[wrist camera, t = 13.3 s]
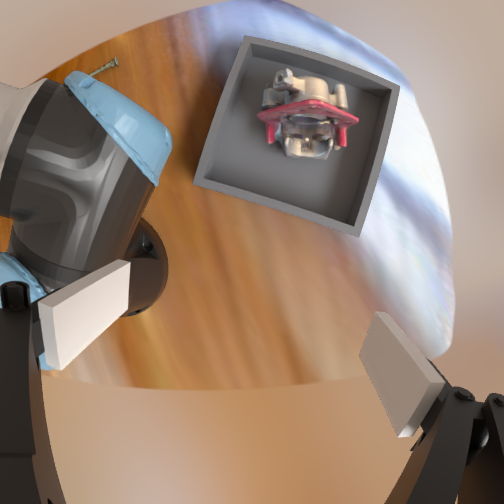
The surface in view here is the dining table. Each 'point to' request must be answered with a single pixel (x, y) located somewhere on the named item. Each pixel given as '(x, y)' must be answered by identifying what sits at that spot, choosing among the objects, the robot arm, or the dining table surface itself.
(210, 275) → the dining table surface
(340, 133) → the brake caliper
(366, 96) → the parts bin
